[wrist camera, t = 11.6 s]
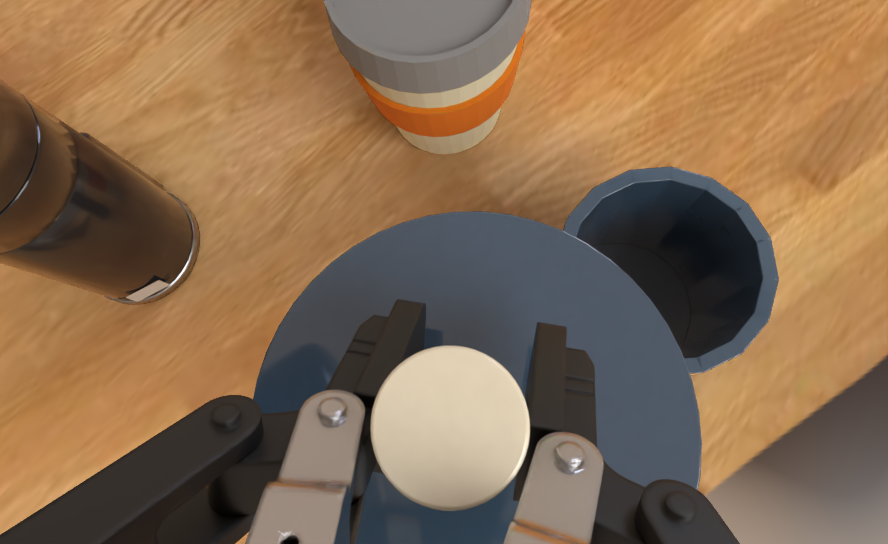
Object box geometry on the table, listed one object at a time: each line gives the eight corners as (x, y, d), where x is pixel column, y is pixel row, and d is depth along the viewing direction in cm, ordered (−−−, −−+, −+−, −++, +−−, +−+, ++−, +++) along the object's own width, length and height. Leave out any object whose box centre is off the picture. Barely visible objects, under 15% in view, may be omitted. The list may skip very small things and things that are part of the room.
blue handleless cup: (515, 276, 45) (520, 222, 33) (648, 211, 45) (702, 134, 33) (587, 414, 42) (623, 412, 30) (729, 345, 42) (822, 314, 30)
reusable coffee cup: (352, 65, 50) (293, -78, 36) (493, 16, 50) (491, -147, 36) (395, 196, 47) (349, 97, 33) (546, 145, 47) (566, 23, 33)
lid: (208, 329, 19) (35, 274, 12) (556, 160, 19) (589, 8, 12) (362, 746, 16) (251, 1010, 9) (777, 535, 16) (994, 624, 9)
